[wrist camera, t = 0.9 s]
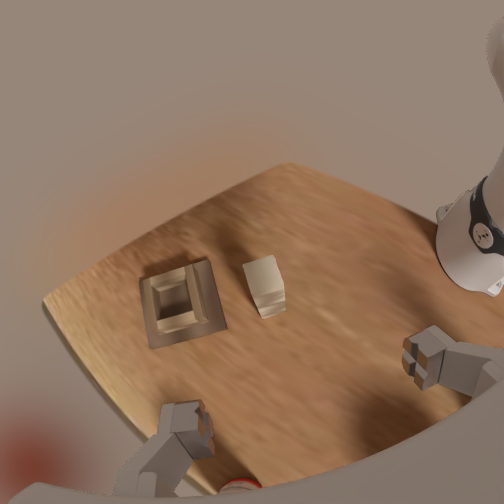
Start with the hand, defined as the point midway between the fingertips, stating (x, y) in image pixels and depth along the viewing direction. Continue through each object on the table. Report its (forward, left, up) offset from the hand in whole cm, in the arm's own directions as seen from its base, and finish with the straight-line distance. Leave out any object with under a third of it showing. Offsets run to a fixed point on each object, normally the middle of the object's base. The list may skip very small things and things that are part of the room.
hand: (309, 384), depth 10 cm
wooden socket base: (+10, -18, -29) cm, 36 cm away
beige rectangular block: (-2, -12, -29) cm, 32 cm away
